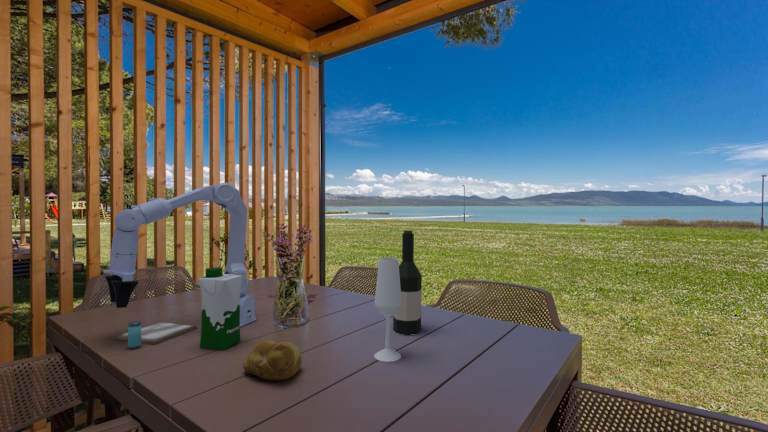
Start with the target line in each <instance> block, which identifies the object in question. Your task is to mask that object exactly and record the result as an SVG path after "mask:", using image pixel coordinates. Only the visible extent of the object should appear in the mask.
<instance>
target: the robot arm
mask: <svg viewBox="0 0 768 432" xmlns="http://www.w3.org/2000/svg"><path fill="white" fill-rule="evenodd" d="M199 201H203V202H212V203H214V204H215V205H218V206H221V207H222V208H223V210H225V211H226V212H227V213H228V214H229V227H228V241H227V243H228V244H227V256H226V259H227V261H226V265H225V267H224V273H223V274H234V275H242V281H241V288H240V328H241V327H244V326H246V325H248V324H250V323H252V322H255V321H257V318H256V300H255V298H254V296H252V295H249V294H248V290H249V287H250V283H249V279H248V277H247V269H246V265H245V258H246V257H245V254H246V241H247V240H246V239H247V238H246V237H247V222H248V221H247V220H248V208H247V205H246V204H245V201H244V200H243V198H242V196H241V194H240V190H239V189H238V188H236V187H235V186H234V185H233V184H231V183H229V182H221V183H217V184H212V185H206V186H202V187H198V188H196V189H192V190H190V191H188V192H185V193H183V194H182V193H181V194H179V195H177V196H175V197H172V198H170V199H166V198H162V197H158V198H156V197H154V196H153V197H152V198H149V201H146V202H143V203H141V204H138V205H135V204H132V205H130V208H125V209H123V210H120V211H119V212H118V213H117V214H116V215H115V217H114V219H113V223H114V226H116V227H114V229H113V236H112V242H111V250H110V257H109V258H110V260H109V269H103V274H109V275H105V276H104V278H105V280H106V283H107V286H108V290H109V291H108V292H109V298H110V302H111V303H115V306H116V307H115V308H117V309H122V308H127V306H128V305H129V302H130V299H131V296H132V295H133V292H134V290H135V288H136V287H137V286H138V284H139V281H138V280H133V276H134V275H135V274H137V269H136V265H137V256H138V247H139V239H140V237H139V229H140V227H141V226H142V225H145V226H147V225H150V224H151V223H155V222H157V221H160V220H163V219H165V218H167V217H170V216H171V213H172V211H173V210H176V209H178V208H182V207H184V206H188V205H189V204H193V203H196V202H199Z"/></svg>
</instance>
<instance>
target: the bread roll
mask: <svg viewBox="0 0 768 432" xmlns="http://www.w3.org/2000/svg"><path fill="white" fill-rule="evenodd" d="M302 362H303V361H302V353H301V351H300V349H299V348H298V347H297V346H296V345H294V344H293V343H292V342H290V341H280V342H278V343H276V342H275V341H273V340H269V339H268V340H261V341H259V342H258V343H257V344H255V345H254V346H253V347H252V348H251V349H250V352H249V354H248V355H246V356H245V357H244V360H243V363H242V365H243V370H244V371H245V372H246V373H247V374H249V375H253V376H256V377H257V378H260V379H262V380H265V381H274V382H277V381H286V380H288V379H290V378H291V377H293V376H295V374H297V372H298V371H299V370H300V369H301V367H302Z"/></svg>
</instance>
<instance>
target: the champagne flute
mask: <svg viewBox="0 0 768 432" xmlns="http://www.w3.org/2000/svg"><path fill="white" fill-rule="evenodd" d="M377 264H378V266H377V273H376V274H377V275H376V286H375V294H374V306H375V308H376V309H377V311H378V312H379V313H380V314H381V315H382V316H384V317H385V335H384V337H385V345H384V347H385V348H383V349H381V350H379V351H378V352H375V353H374V355H373V357H374V358H375V360H377V361H380V362H386V363H387V362H389V363H390V362H395V361H399V360H400V359H401V358H402V355H401V354H400V352H397V351H396V350H394V349H392V348H391V317H393V315H394V314H395V313H396V312H397V311H398V310H399V309H400V307H401V305H402V300H401V287H400V275H399V266H400V264H399V258H397V257H380V258H378V263H377Z"/></svg>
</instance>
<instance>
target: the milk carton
mask: <svg viewBox="0 0 768 432" xmlns="http://www.w3.org/2000/svg"><path fill="white" fill-rule="evenodd" d="M241 281H242V275H234V274H224V273H223V268H222V267H209V268H205V276H202V277H199V278H198V284H199V288H200V293H201V322H200V323H201V324H200V325H201V328H200V339H199V340H200V341H199V348H200V349H208V350H218V351H225V350H227V349H228V348H230V347H232V346H234V345H235V344H238V343H239V342H240V341H241V327H240V288H241Z"/></svg>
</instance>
